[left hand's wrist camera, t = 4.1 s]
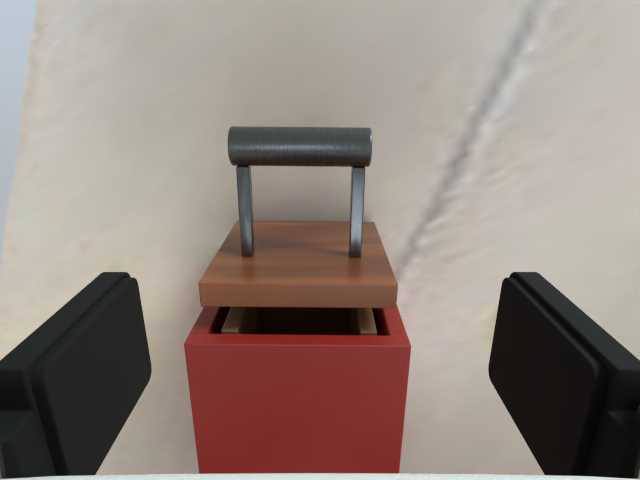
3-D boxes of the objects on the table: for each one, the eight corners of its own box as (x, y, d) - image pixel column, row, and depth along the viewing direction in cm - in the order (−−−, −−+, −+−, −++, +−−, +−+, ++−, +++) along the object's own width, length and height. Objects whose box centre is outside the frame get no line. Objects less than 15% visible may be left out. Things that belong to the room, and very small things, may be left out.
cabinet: (232, 251, 29) (183, 343, 19) (379, 253, 29) (411, 346, 18) (245, 450, 35) (214, 601, 24) (367, 451, 35) (386, 603, 24)
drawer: (230, 117, 25) (183, 134, 16) (380, 118, 25) (409, 136, 16) (249, 423, 32) (223, 541, 24) (363, 424, 32) (377, 542, 24)
